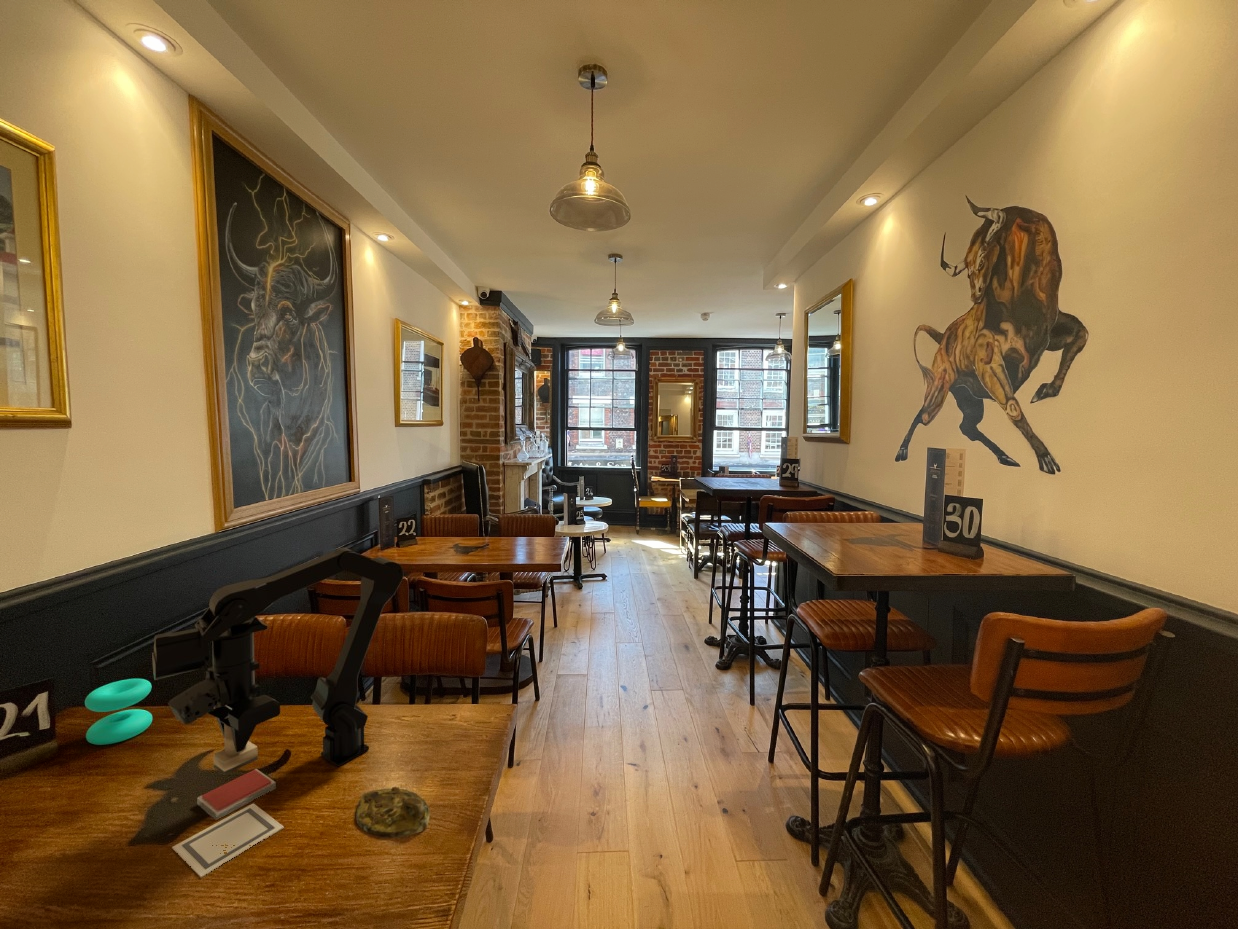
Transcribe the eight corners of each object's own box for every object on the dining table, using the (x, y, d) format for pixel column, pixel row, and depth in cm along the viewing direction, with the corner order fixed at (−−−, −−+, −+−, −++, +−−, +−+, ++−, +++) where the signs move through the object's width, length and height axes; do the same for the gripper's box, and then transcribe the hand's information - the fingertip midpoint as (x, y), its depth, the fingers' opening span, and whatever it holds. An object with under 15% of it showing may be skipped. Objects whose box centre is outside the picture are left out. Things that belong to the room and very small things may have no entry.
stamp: (246, 752, 92) (245, 707, 91) (257, 759, 90) (256, 713, 89) (213, 767, 87) (212, 720, 87) (224, 775, 85) (223, 727, 85)
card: (253, 804, 87) (253, 802, 87) (283, 828, 82) (283, 826, 82) (172, 848, 78) (172, 846, 78) (201, 878, 73) (201, 876, 73)
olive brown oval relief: (337, 826, 84) (405, 855, 79) (334, 801, 84) (402, 828, 78) (383, 785, 93) (447, 809, 87) (380, 762, 92) (445, 784, 86)
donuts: (76, 691, 104) (139, 672, 113) (77, 739, 105) (140, 716, 114) (96, 704, 100) (160, 682, 109) (97, 753, 100) (161, 728, 109)
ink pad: (256, 775, 95) (256, 767, 95) (275, 788, 91) (275, 780, 91) (197, 804, 87) (197, 796, 87) (216, 820, 83) (215, 811, 83)
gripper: (152, 664, 86) (154, 754, 86) (200, 694, 76) (203, 795, 77) (229, 642, 95) (231, 723, 96) (281, 666, 86) (282, 756, 86)
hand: (235, 747), depth 88 cm, fingers closed on stamp, 3 cm apart
